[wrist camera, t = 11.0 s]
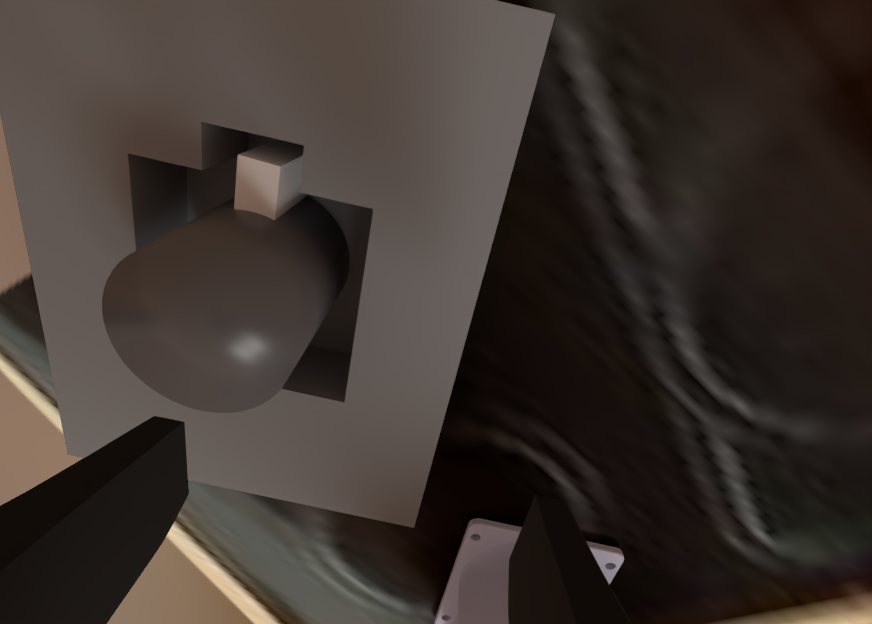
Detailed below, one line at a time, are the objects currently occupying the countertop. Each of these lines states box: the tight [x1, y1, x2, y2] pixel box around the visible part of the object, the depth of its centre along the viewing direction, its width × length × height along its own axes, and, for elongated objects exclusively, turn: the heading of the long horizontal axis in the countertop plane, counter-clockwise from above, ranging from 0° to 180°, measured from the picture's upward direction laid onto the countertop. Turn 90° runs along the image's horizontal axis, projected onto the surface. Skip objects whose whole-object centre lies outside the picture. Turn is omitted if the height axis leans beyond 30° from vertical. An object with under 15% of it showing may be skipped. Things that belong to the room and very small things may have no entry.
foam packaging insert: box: [0, 0, 555, 528], centre depth 17 cm, size 18×14×4 cm
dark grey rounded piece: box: [102, 140, 350, 413], centre depth 15 cm, size 6×5×6 cm
